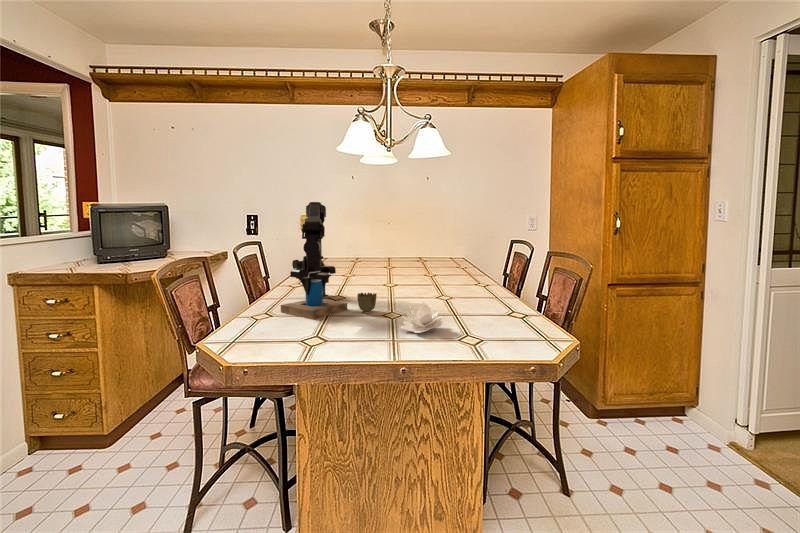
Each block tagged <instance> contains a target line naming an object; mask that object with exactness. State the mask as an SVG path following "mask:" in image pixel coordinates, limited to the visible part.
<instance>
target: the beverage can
mask: <svg viewBox="0 0 800 533" xmlns="http://www.w3.org/2000/svg"><path fill="white" fill-rule="evenodd" d="M305 300H306V306H311V307H316V306H321V305H323V300H324V297H323V287H322V282H321V280H319V279H311V286H310V293H309V295H306V294H305Z"/></svg>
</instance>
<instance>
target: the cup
mask: <svg viewBox="0 0 800 533" xmlns="http://www.w3.org/2000/svg"><path fill="white" fill-rule="evenodd" d="M356 295H357V296H356V297H357V303H358V307H359V309H360V310H361V311H362V312H361V313H362V314H371V313H373V311H374V309H375V308H376V303H377V292H376V293H375V292H373V293H372V292H358V293H357V294H356Z"/></svg>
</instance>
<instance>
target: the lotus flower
mask: <svg viewBox="0 0 800 533" xmlns="http://www.w3.org/2000/svg"><path fill="white" fill-rule="evenodd" d="M409 308H410V311H411V313H410V312H408V311H407V310H406V311H405V314H406V316H407V318H406V317H405V316H403V315H401V317H402V318H403V319H404V320H403V324H404V325H402V326H401V327H400V329H402V330H404V331H408V332H413V333H415V334H420V333H424V332H428V331H429V330H430V329H436V328H440V327H442V325H443V324H444V320H442V319H443V318H444V316H442V315H441V316H439V313H440V310H438V311H437V312H434V309H433V308H432V307H431V306H430V307H429V305H428V304H426V302H423V301H422V303H420V305H419V306H418V307H416V306H414V307H413V308H412V307H411V306H409Z"/></svg>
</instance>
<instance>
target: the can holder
mask: <svg viewBox="0 0 800 533" xmlns="http://www.w3.org/2000/svg"><path fill="white" fill-rule="evenodd" d="M347 310H348V303H347V302H341V301H335V300H329V299H323V305H321V306H316V307H311V306H306V299H305V300H300V301H294V302H289V303H285V304H284V303H283V304H280V313H281V314H285V315H289V316H290V315H291V316H295V317H300V318H303V317H304V319H308V320H312V321H313V320H317V318H318V319H320V318H323V317H327V316H330V315H333V314H337V313H341V312H344V311H347Z"/></svg>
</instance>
